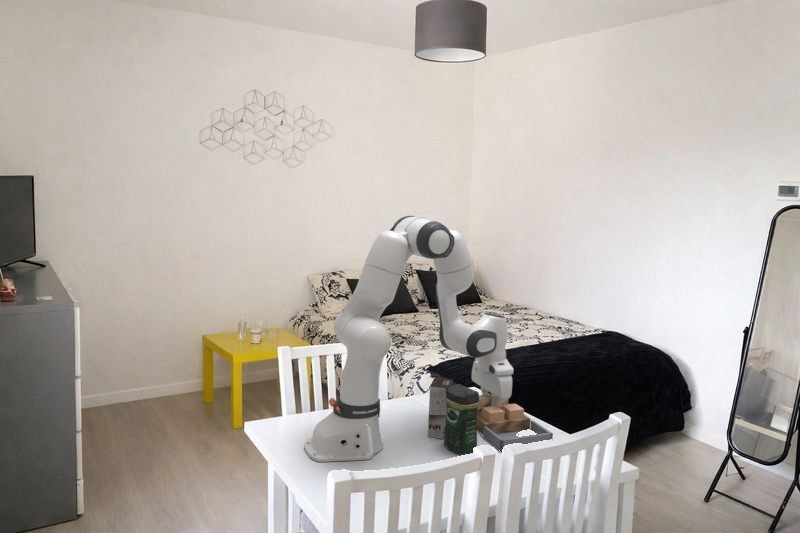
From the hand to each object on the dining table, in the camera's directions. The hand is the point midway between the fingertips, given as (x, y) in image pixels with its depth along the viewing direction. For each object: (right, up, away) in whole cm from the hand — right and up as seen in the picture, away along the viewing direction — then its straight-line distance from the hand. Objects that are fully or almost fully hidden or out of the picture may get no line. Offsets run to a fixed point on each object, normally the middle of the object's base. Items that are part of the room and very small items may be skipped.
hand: (489, 403), depth 206 cm
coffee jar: (-12, -9, -22) cm, 26 cm away
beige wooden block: (0, -1, 0) cm, 1 cm away
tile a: (0, -3, -9) cm, 9 cm away
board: (+2, -6, -3) cm, 7 cm away
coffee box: (-17, -7, -11) cm, 21 cm away
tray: (+6, -8, -15) cm, 18 cm away
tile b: (+6, -3, -6) cm, 9 cm away
